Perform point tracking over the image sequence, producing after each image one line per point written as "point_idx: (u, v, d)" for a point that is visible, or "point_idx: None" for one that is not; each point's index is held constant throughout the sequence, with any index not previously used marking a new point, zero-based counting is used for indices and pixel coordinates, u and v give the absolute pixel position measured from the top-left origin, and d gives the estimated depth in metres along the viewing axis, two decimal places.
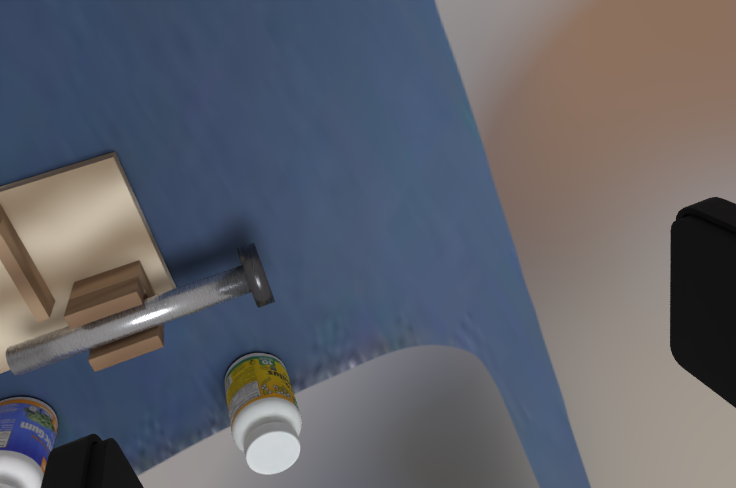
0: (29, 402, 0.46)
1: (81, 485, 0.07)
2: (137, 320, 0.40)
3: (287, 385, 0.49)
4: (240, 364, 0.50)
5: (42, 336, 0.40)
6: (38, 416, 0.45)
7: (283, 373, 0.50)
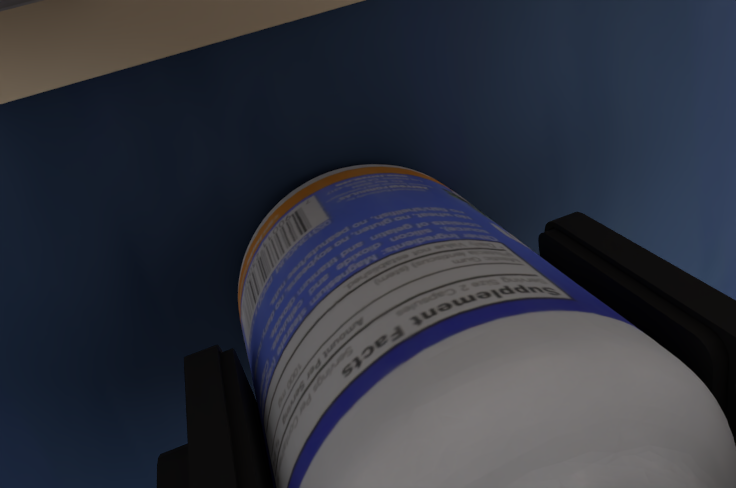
0: None
1: (221, 379, 0.08)
2: None
3: None
4: None
5: None
6: None
7: None
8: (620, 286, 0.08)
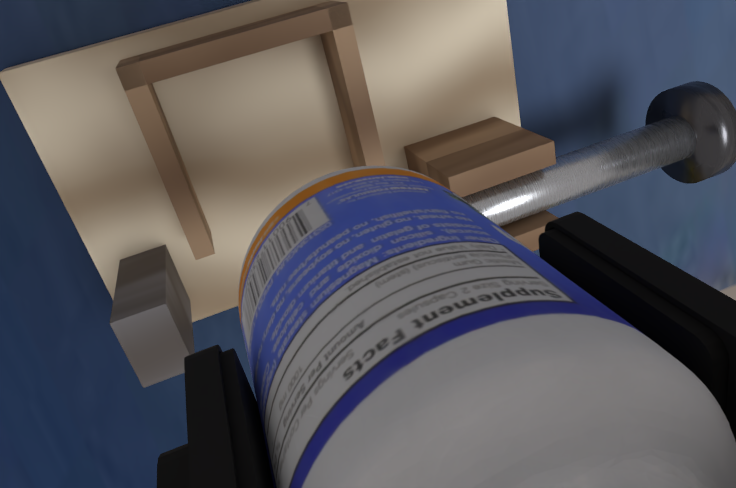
0: (435, 182, 0.12)
1: (222, 378, 0.08)
2: (541, 192, 0.25)
3: None
4: None
5: None
6: None
7: None
8: (620, 286, 0.08)
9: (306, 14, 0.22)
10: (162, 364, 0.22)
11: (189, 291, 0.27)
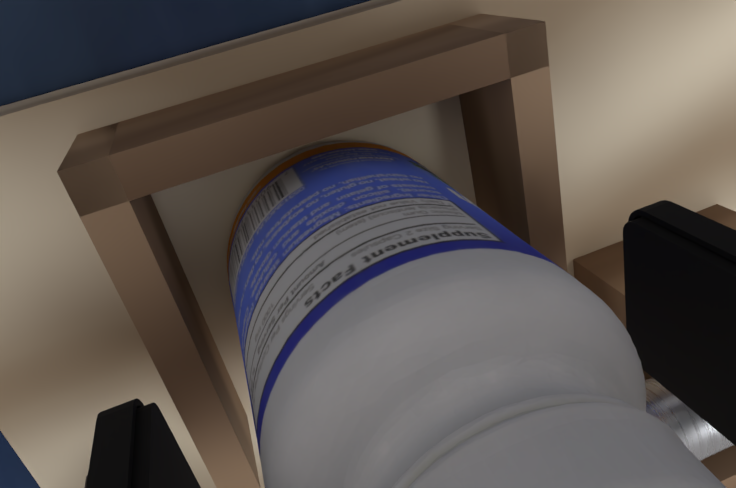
0: (403, 154, 0.13)
1: (131, 442, 0.08)
2: None
3: None
4: None
5: None
6: None
7: None
8: (728, 275, 0.08)
9: (462, 46, 0.11)
10: None
11: None
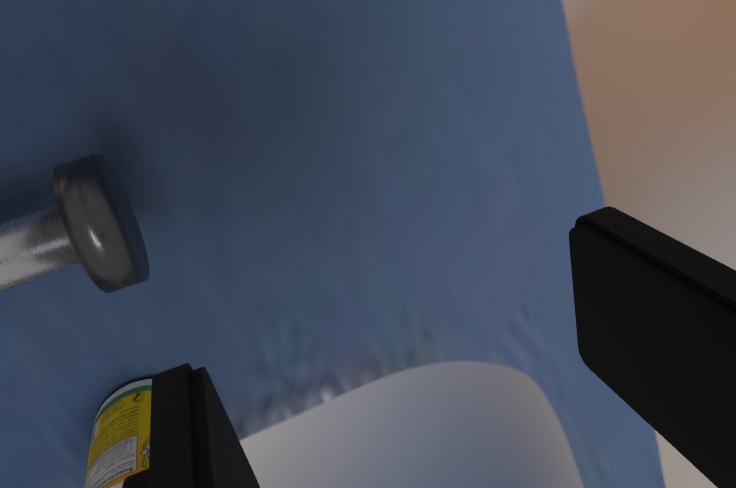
0: None
1: (188, 400, 0.08)
2: None
3: None
4: (117, 401, 0.27)
5: None
6: None
7: None
8: (658, 280, 0.08)
9: None
10: None
11: None
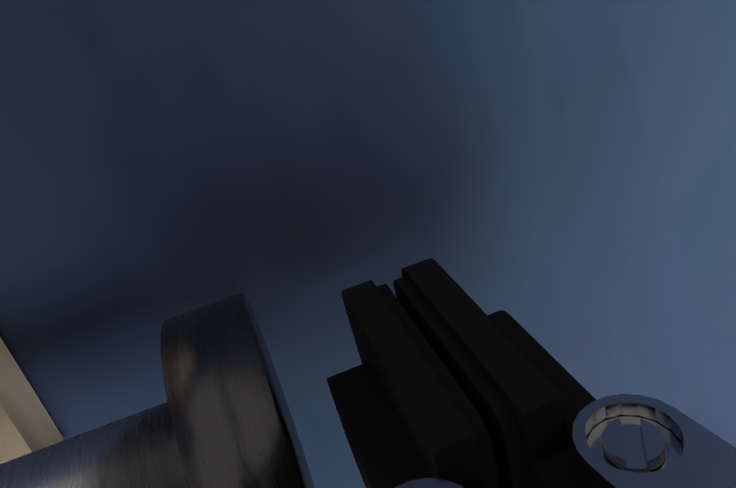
0: None
1: (389, 306, 0.09)
2: None
3: None
4: None
5: None
6: None
7: None
8: (444, 344, 0.08)
9: None
10: None
11: None
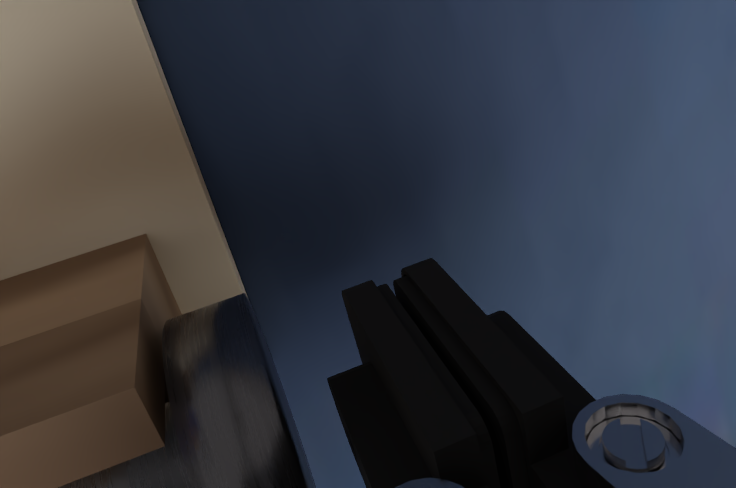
0: None
1: (389, 305, 0.09)
2: None
3: None
4: None
5: None
6: None
7: None
8: (444, 344, 0.08)
9: None
10: None
11: None
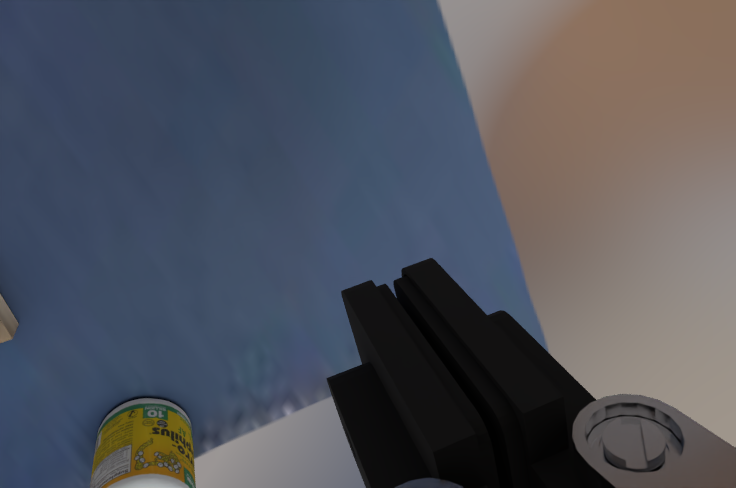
0: None
1: (389, 305, 0.09)
2: None
3: (180, 449, 0.33)
4: (116, 416, 0.34)
5: None
6: None
7: (179, 429, 0.34)
8: (444, 344, 0.08)
9: None
10: None
11: None
